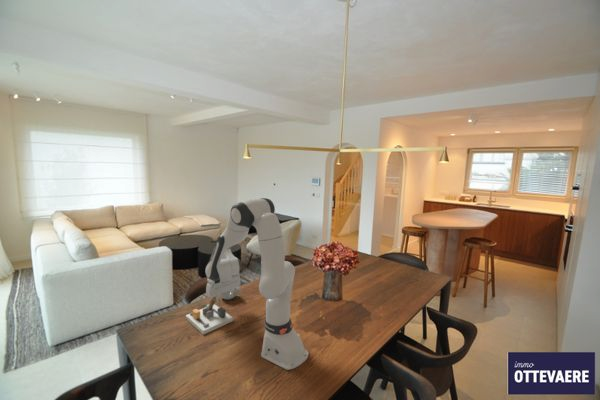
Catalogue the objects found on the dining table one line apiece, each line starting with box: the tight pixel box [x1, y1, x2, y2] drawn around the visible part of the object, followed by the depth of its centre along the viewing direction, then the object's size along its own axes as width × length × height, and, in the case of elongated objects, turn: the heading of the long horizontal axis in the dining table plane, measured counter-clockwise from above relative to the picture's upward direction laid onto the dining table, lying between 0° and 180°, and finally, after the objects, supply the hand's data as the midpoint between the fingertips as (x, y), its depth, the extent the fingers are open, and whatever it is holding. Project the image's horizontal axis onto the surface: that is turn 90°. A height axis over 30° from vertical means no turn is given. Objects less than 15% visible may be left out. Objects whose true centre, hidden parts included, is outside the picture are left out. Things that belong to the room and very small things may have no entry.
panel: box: [185, 303, 234, 336], centre depth 144 cm, size 20×17×6 cm
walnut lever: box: [205, 296, 216, 314], centre depth 146 cm, size 3×2×10 cm
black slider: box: [218, 306, 227, 318], centre depth 145 cm, size 4×2×4 cm, turn 47°
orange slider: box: [191, 308, 200, 319], centre depth 143 cm, size 4×2×4 cm, turn 47°
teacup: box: [219, 287, 242, 301], centre depth 169 cm, size 14×11×8 cm
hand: (224, 298), depth 152 cm, fingers open, 7 cm apart
